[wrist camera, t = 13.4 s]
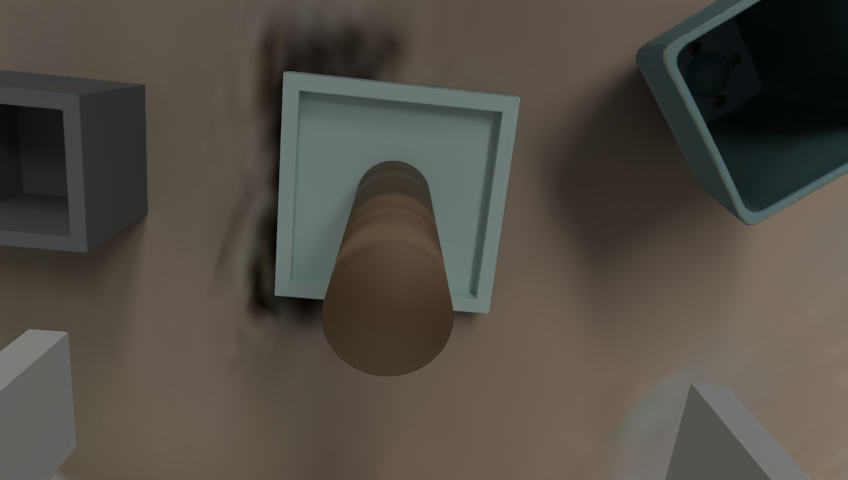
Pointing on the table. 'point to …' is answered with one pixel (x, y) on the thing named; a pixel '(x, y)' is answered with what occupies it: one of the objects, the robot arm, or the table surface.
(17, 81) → the pen cup
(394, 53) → the table surface
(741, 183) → the flower pot
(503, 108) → the tray
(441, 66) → the table surface
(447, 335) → the dowel
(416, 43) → the table surface
